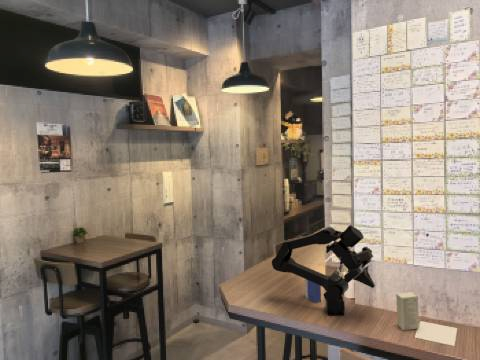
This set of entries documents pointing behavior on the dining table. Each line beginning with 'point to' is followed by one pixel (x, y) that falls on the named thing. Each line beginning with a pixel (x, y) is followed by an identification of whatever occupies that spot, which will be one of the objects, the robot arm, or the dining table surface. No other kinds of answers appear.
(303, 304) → the dining table surface
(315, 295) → the walkman
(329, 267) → the dining table surface
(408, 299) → the skincare box
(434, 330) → the mat
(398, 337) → the dining table surface
